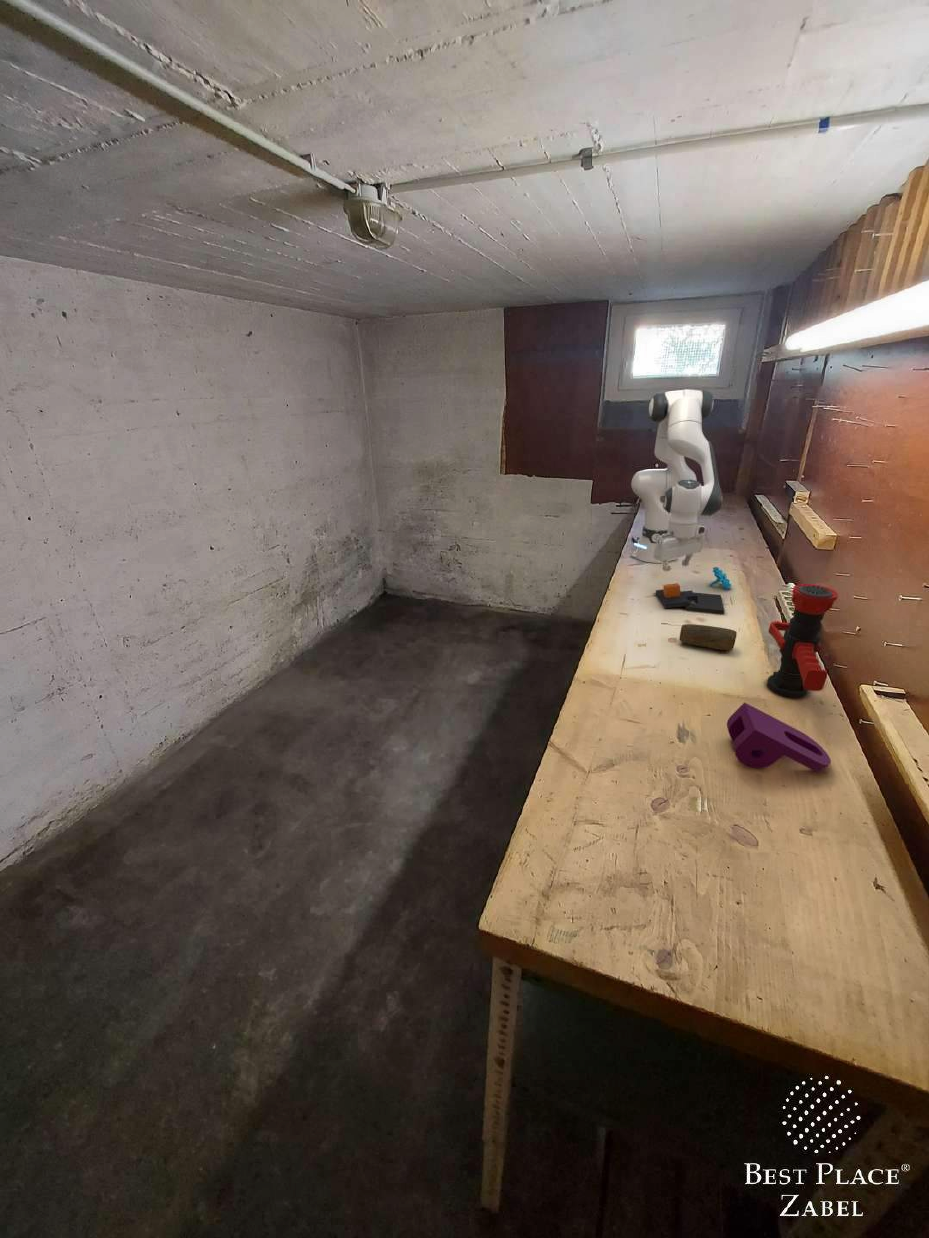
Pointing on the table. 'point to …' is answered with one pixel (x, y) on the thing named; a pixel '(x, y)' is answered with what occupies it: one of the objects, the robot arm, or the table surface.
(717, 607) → the socket pad
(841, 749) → the table surface
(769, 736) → the mounting bracket
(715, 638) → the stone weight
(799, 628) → the fire hose nozzle
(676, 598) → the pad
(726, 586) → the gear
